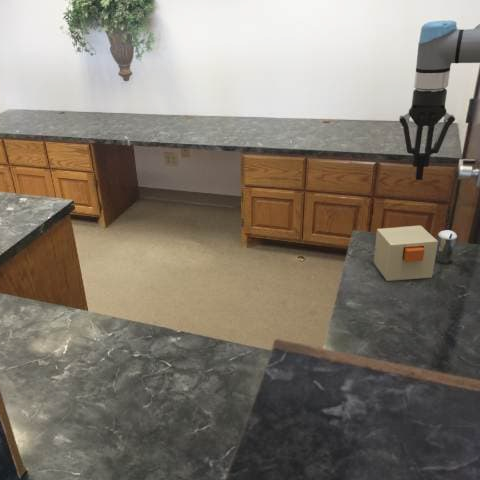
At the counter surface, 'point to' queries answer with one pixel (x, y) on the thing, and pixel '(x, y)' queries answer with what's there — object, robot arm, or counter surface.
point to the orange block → (413, 254)
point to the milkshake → (445, 245)
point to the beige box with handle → (392, 251)
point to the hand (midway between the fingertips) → (418, 177)
